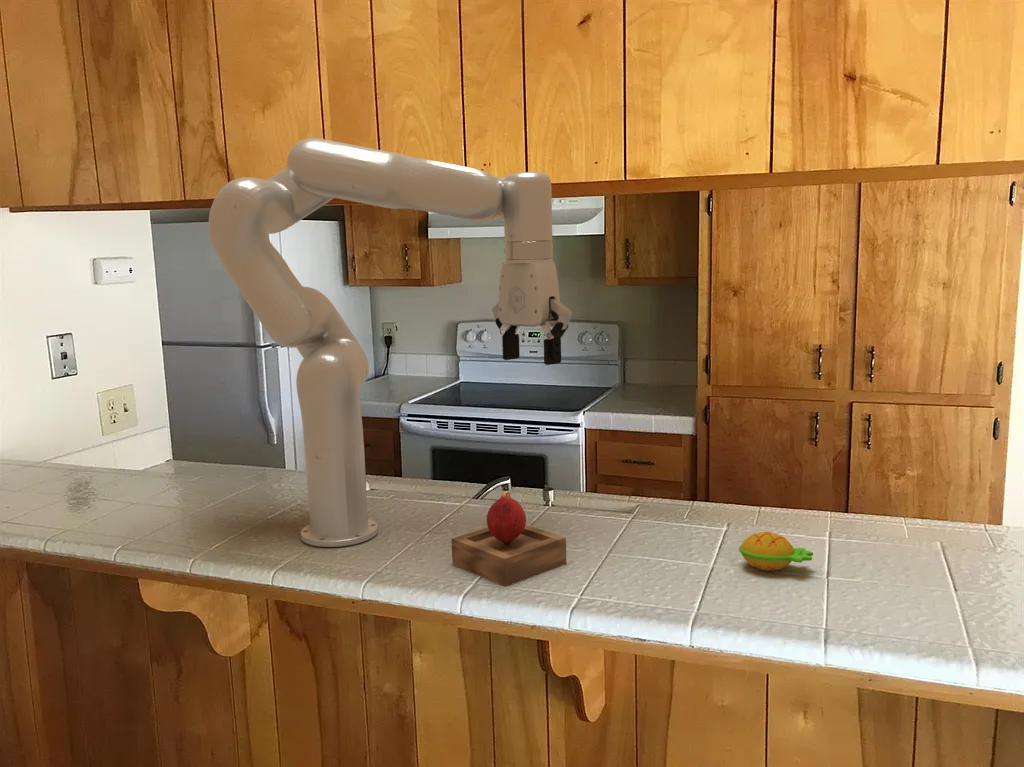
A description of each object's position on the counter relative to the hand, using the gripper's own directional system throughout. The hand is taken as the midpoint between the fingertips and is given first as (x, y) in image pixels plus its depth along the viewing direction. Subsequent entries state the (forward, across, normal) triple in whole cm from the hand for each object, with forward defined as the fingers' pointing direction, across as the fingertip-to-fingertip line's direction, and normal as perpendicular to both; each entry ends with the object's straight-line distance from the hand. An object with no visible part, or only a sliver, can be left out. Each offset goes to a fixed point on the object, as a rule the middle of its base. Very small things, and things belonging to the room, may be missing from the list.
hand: (531, 361), depth 135 cm
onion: (+26, +8, -13) cm, 30 cm away
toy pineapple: (+29, +37, +12) cm, 48 cm away
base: (+28, +8, -13) cm, 32 cm away
